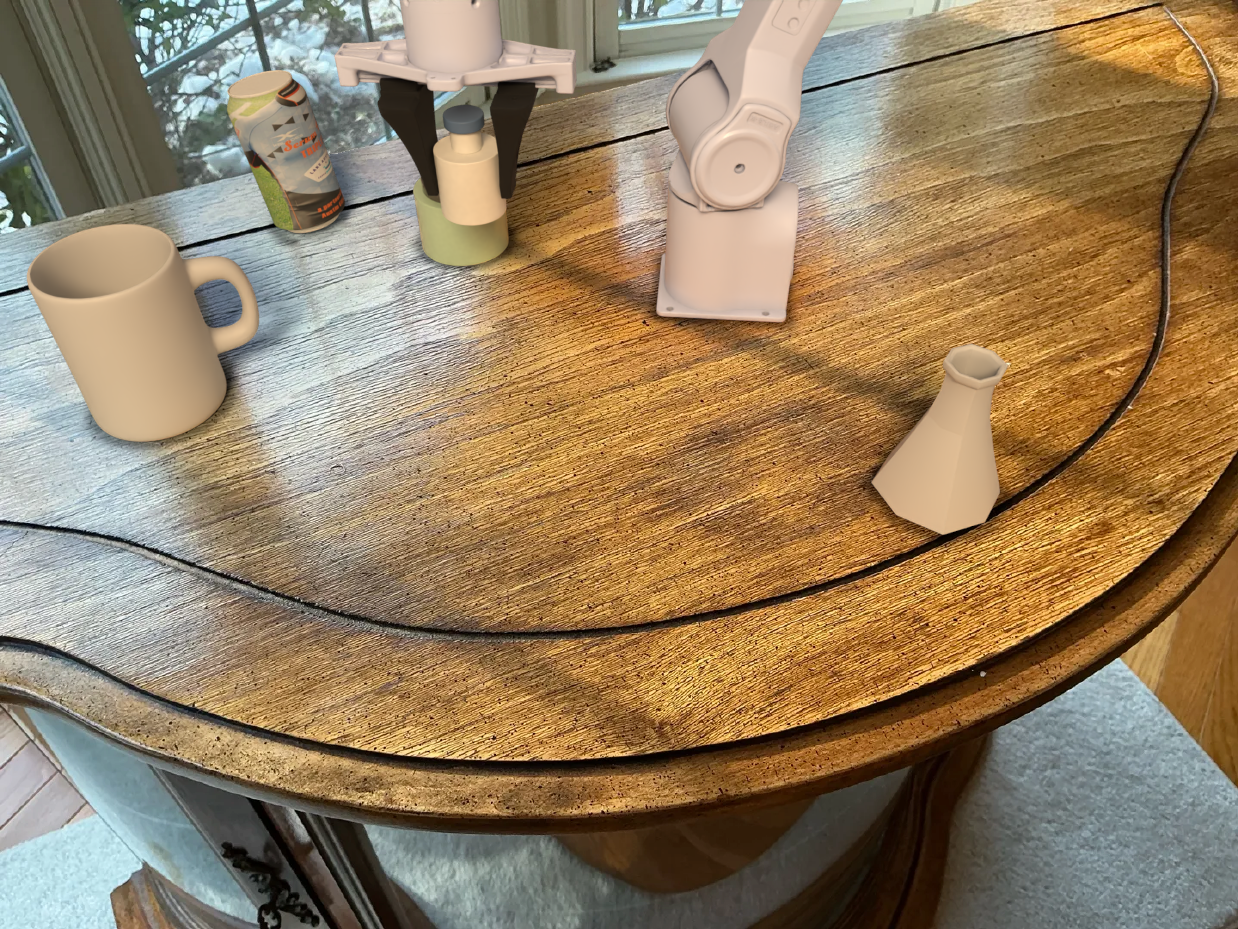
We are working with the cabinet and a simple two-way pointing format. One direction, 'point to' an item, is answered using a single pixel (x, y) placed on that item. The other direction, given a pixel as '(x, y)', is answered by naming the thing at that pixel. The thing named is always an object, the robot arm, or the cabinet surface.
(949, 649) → the cabinet surface
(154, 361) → the mug
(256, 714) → the cabinet surface
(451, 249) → the sage jar
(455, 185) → the cream bottle
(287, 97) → the beverage can
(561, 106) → the cabinet surface
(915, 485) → the flask
